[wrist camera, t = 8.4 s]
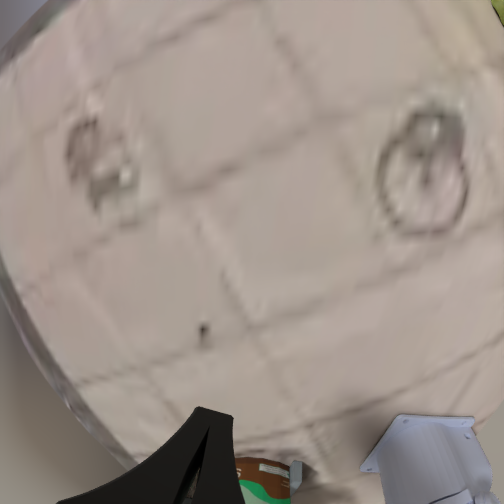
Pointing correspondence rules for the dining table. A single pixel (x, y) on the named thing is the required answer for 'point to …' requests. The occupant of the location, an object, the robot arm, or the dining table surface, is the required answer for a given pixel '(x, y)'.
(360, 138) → the dining table surface
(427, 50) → the dining table surface
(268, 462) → the food container
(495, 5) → the plant pot
